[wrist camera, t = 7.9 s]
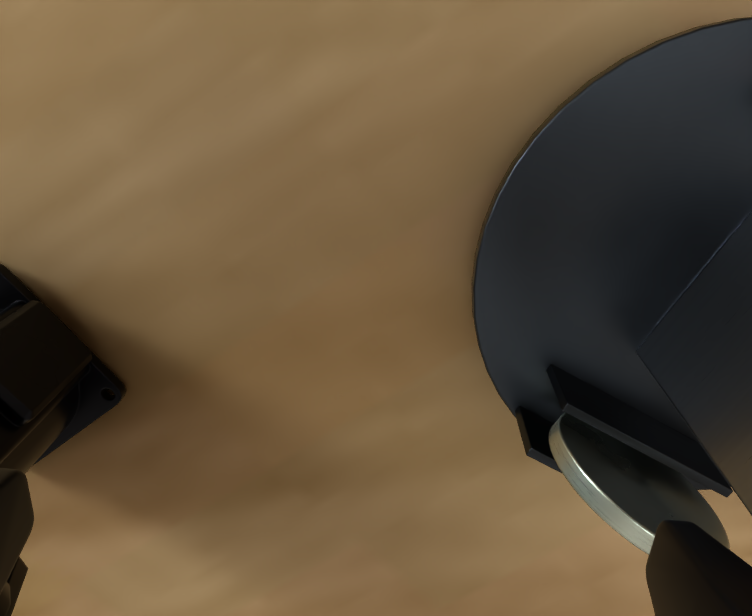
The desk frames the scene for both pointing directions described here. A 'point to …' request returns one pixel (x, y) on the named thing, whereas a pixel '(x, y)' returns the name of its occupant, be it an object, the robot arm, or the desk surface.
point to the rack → (632, 284)
